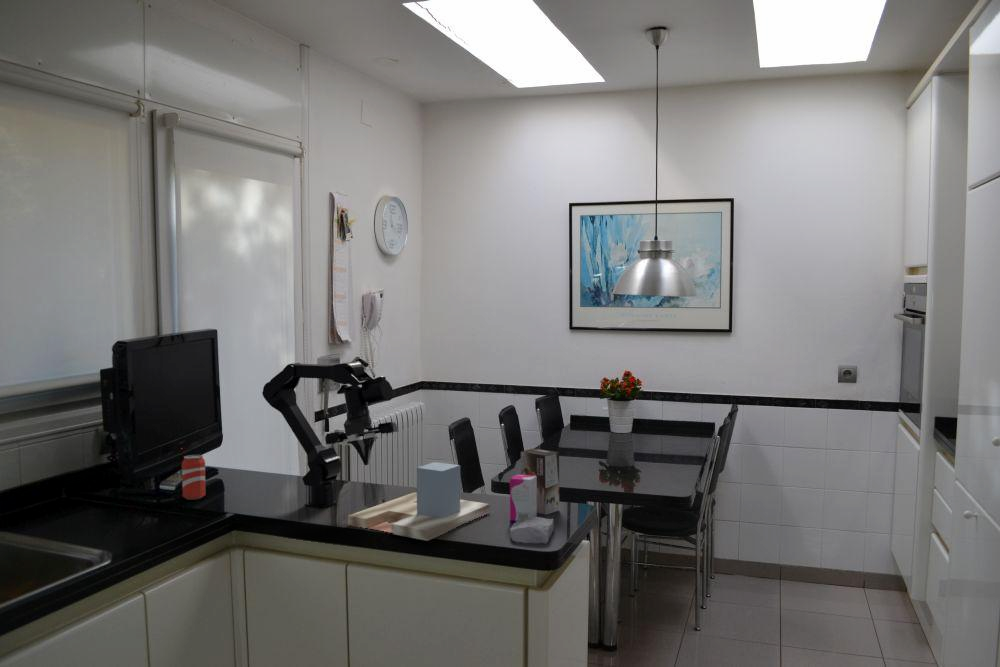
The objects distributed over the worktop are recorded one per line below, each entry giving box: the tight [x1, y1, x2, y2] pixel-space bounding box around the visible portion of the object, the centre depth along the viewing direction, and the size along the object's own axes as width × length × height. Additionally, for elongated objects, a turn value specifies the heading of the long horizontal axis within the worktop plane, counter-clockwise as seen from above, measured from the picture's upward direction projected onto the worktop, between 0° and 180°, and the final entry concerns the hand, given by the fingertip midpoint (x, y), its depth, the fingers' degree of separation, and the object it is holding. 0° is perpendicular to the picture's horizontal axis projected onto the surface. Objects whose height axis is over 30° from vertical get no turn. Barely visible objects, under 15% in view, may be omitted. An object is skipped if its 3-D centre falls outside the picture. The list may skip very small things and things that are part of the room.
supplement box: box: [509, 474, 538, 524], centre depth 208 cm, size 6×6×12 cm
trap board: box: [347, 491, 491, 542], centre depth 209 cm, size 25×28×2 cm
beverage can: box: [181, 454, 206, 501], centre depth 231 cm, size 6×6×12 cm
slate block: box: [416, 461, 461, 519], centre depth 206 cm, size 8×8×12 cm
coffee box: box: [520, 448, 560, 515], centre depth 218 cm, size 9×6×16 cm
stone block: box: [509, 516, 554, 545], centre depth 195 cm, size 12×5×10 cm
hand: (366, 465), depth 215 cm, fingers closed
